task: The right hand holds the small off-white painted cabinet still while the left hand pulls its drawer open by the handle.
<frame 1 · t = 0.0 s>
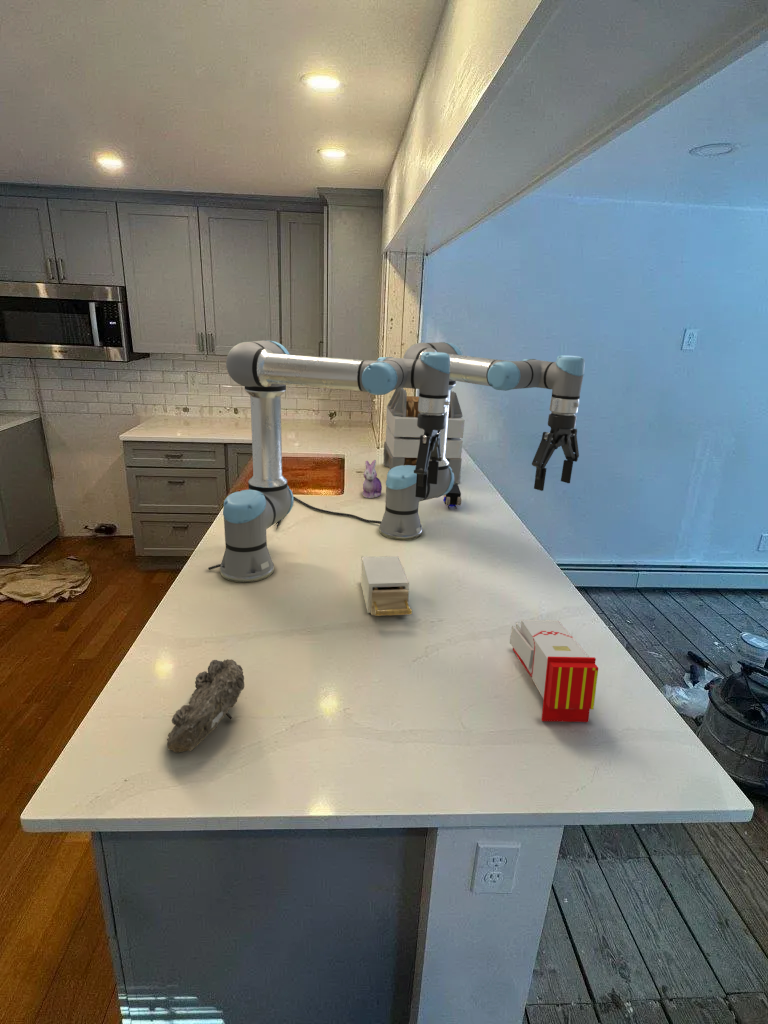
left hand: (426, 490, 156), 28 cm above the counter, tool pointing down, fingers open, 13 cm apart
right hand: (552, 485, 166), 28 cm above the counter, tool pointing down, fingers open, 13 cm apart
drawer: (387, 594, 148), point 4 cm above the counter, slide at 1.6 cm
feather: (283, 517, 211), on the counter
toy: (544, 679, 124), on the counter
white slatted crate: (419, 473, 275), on the counter
cabinet: (383, 597, 156), on the counter
fossil: (212, 717, 108), on the counter
figurine character: (451, 505, 231), on the counter
figurine: (371, 495, 239), on the counter
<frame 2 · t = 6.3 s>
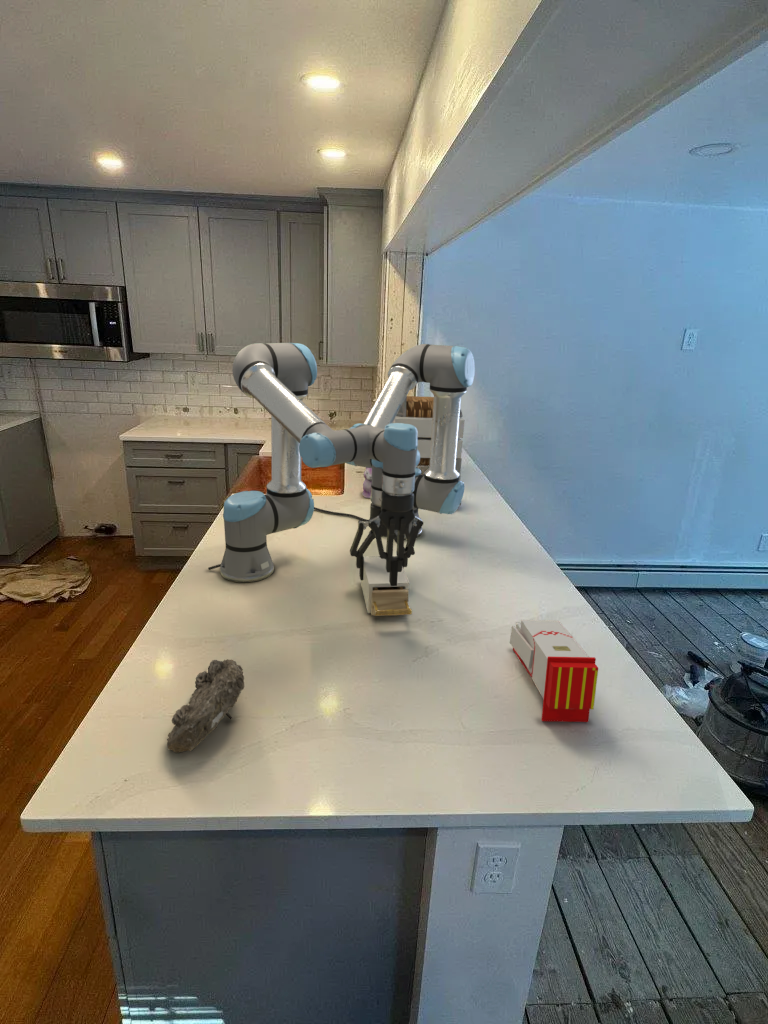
left hand: (393, 583, 139), 12 cm above the counter, tool pointing down, fingers closed
right hand: (381, 577, 159), 4 cm above the counter, tool pointing down, fingers closed on cabinet, 10 cm apart
cabinet: (383, 597, 156), on the counter, touching right hand
everything else where it was.
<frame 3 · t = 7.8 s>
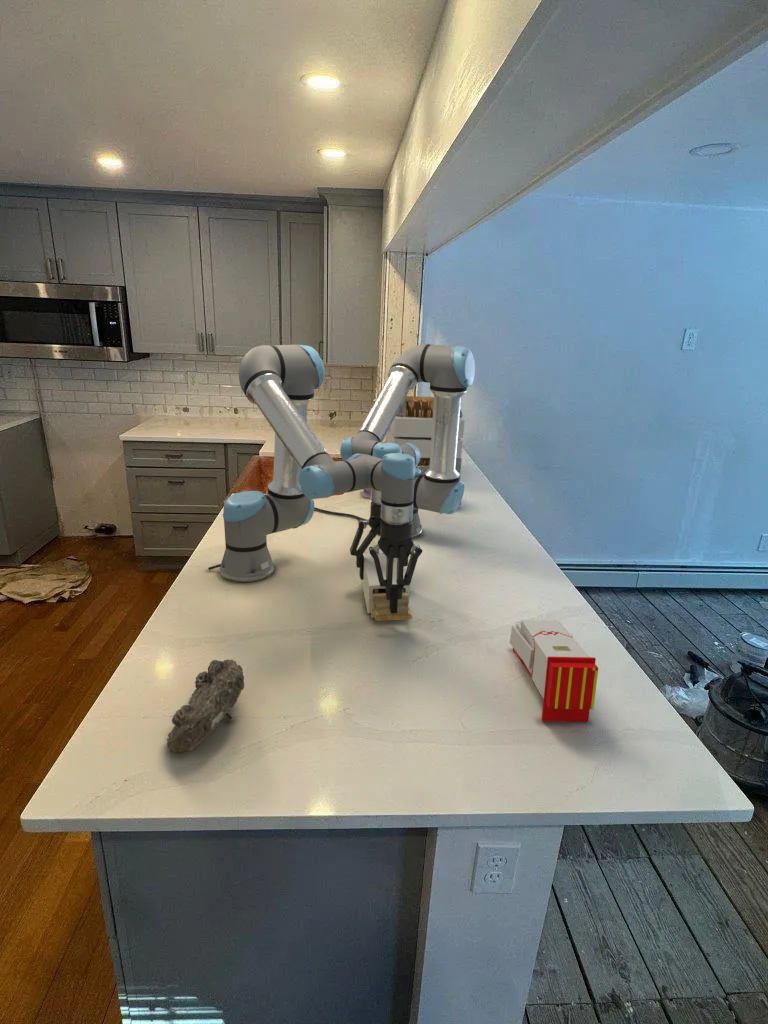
left hand: (393, 610, 140), 5 cm above the counter, tool pointing down, fingers closed
right hand: (381, 577, 158), 4 cm above the counter, tool pointing down, fingers closed on cabinet, 10 cm apart
drawer: (387, 595, 147), point 4 cm above the counter, slide at 2.1 cm, touching left hand
cabinet: (383, 594, 155), point 1 cm above the counter, tilted 6°, touching right hand
everything else where it was.
when the right hand's fingers open (4 cm above the counter, at t = 10.8 s): cabinet stays where it is, on the counter.
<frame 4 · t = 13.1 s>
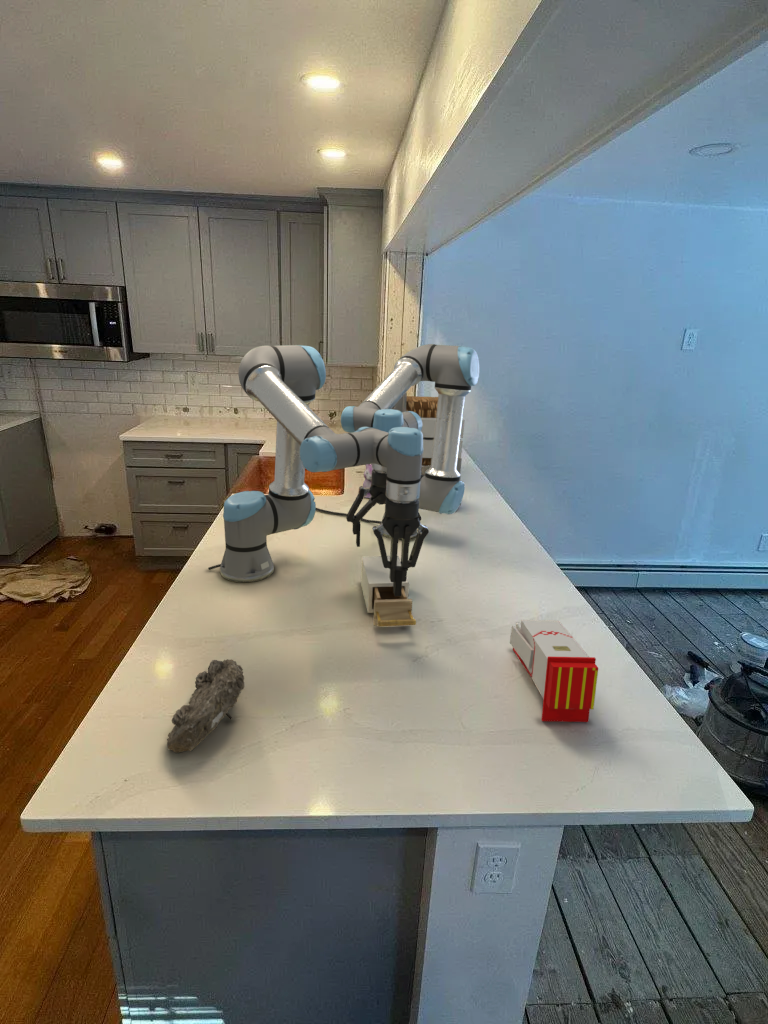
left hand: (397, 593, 133), 12 cm above the counter, tool pointing down, fingers closed
right hand: (382, 544, 155), 14 cm above the counter, tool pointing down, fingers open, 13 cm apart
drawer: (390, 603, 144), point 4 cm above the counter, slide at 6.7 cm
cabinet: (383, 597, 156), on the counter
everything else where it was.
at the end: drawer slide at 6.7 cm; cabinet tilted 0°; cabinet never tilted more than 8° during the clip; cabinet moved 0.1 cm from its start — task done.
